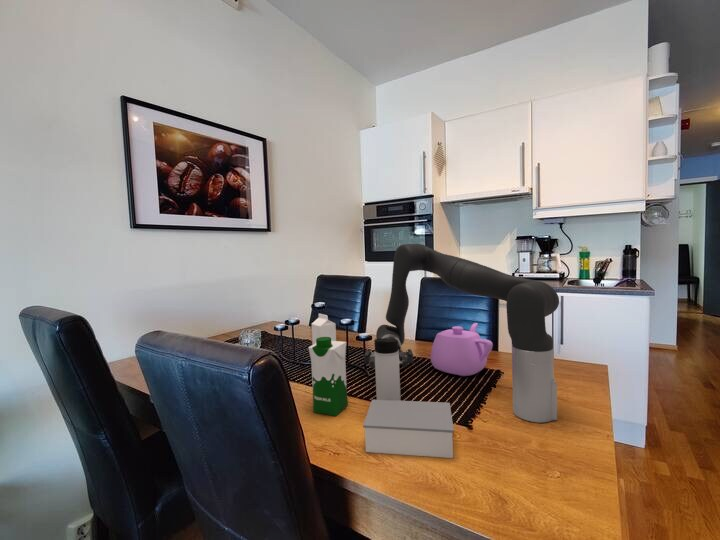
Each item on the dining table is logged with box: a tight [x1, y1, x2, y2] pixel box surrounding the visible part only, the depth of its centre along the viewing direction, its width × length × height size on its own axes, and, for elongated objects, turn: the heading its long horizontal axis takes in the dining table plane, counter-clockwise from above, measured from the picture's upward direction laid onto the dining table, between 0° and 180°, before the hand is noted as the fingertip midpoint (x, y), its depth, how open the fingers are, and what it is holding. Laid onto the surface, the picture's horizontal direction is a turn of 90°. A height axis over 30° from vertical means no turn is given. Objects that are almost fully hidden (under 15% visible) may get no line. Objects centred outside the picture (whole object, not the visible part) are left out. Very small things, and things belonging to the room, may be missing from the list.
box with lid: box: [362, 399, 455, 459], centre depth 77 cm, size 19×13×6 cm
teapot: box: [430, 322, 494, 377], centre depth 120 cm, size 23×21×15 cm
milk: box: [311, 313, 337, 345], centre depth 117 cm, size 6×6×22 cm
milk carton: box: [308, 337, 349, 417], centre depth 94 cm, size 9×9×20 cm
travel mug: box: [374, 338, 402, 401], centre depth 90 cm, size 6×7×20 cm
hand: (388, 364), depth 96 cm, fingers open, 8 cm apart
